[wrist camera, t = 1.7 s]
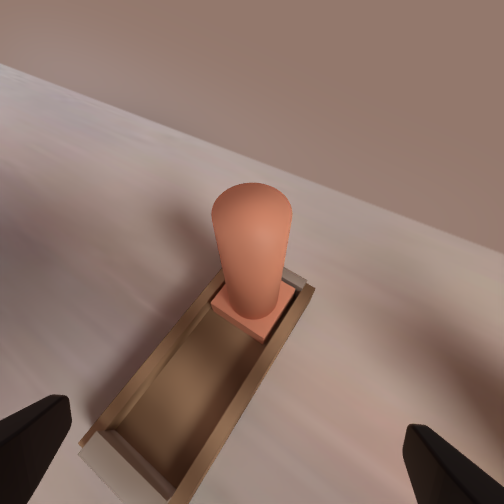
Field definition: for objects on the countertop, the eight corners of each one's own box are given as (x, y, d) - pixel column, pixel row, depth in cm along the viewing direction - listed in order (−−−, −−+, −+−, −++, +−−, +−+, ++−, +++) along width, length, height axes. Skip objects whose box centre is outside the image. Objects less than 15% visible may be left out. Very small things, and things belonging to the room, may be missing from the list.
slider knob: (263, 344, 21) (269, 274, 11) (213, 311, 22) (180, 222, 12) (292, 298, 23) (320, 202, 13) (245, 269, 24) (238, 164, 14)
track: (177, 521, 17) (160, 542, 14) (98, 441, 19) (68, 444, 16) (310, 300, 24) (317, 282, 21) (241, 260, 26) (239, 238, 23)
